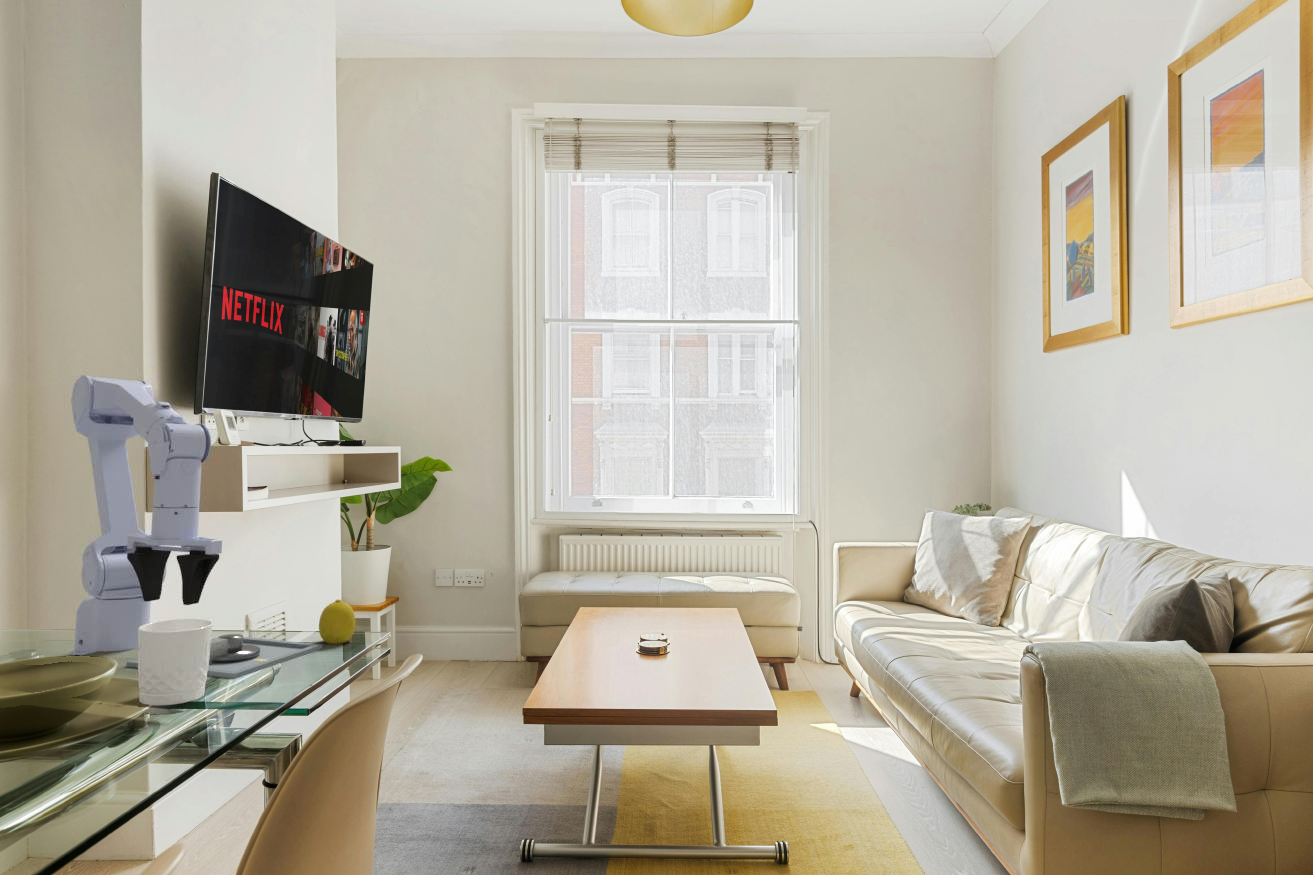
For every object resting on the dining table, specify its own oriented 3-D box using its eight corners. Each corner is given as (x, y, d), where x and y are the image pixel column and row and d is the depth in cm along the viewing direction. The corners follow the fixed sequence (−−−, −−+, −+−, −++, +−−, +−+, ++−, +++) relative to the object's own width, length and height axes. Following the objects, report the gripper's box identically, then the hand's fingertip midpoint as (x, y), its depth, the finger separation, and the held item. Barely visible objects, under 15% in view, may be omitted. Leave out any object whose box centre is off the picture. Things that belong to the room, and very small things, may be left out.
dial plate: (125, 674, 109) (126, 661, 109) (225, 646, 126) (225, 635, 126) (234, 687, 104) (235, 673, 105) (321, 656, 122) (322, 644, 122)
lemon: (360, 645, 130) (362, 597, 130) (343, 653, 124) (346, 603, 124) (328, 643, 130) (331, 595, 130) (311, 651, 125) (313, 601, 125)
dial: (227, 647, 120) (228, 628, 120) (272, 652, 118) (273, 632, 118) (167, 665, 110) (169, 643, 110) (215, 670, 108) (216, 648, 108)
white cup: (140, 700, 98) (144, 620, 98) (212, 694, 101) (216, 617, 102) (127, 719, 91) (132, 633, 91) (204, 712, 94) (209, 629, 94)
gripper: (110, 505, 109) (104, 602, 109) (195, 510, 106) (190, 610, 105) (153, 503, 116) (148, 595, 116) (235, 508, 113) (230, 602, 112)
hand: (171, 602), depth 111 cm, fingers open, 6 cm apart
